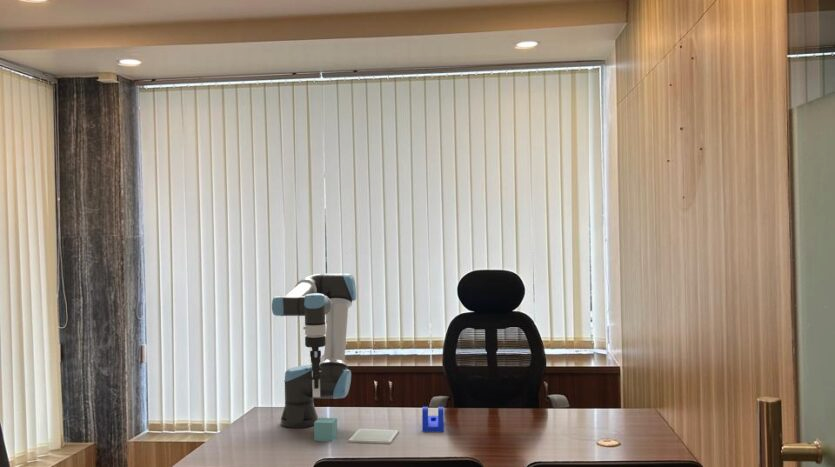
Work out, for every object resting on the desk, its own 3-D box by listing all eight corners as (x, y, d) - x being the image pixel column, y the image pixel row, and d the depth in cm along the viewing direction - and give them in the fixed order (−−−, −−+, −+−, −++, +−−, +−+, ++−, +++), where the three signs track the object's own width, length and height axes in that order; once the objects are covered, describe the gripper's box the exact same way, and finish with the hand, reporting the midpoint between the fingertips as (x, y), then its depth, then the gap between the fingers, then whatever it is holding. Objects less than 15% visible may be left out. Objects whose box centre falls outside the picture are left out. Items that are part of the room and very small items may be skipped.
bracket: (443, 432, 302) (443, 409, 302) (422, 432, 303) (422, 409, 302) (443, 420, 320) (443, 398, 320) (423, 420, 321) (423, 398, 320)
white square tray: (358, 430, 304) (358, 428, 304) (398, 432, 302) (398, 430, 302) (348, 442, 288) (348, 439, 288) (390, 443, 286) (390, 441, 286)
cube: (319, 435, 298) (319, 417, 298) (337, 436, 297) (337, 418, 297) (314, 440, 291) (314, 422, 291) (332, 441, 290) (332, 422, 290)
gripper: (304, 330, 297) (305, 385, 298) (305, 341, 272) (306, 401, 273) (324, 330, 298) (325, 384, 299) (326, 341, 273) (327, 400, 274)
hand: (316, 392), depth 286 cm, fingers open, 13 cm apart
